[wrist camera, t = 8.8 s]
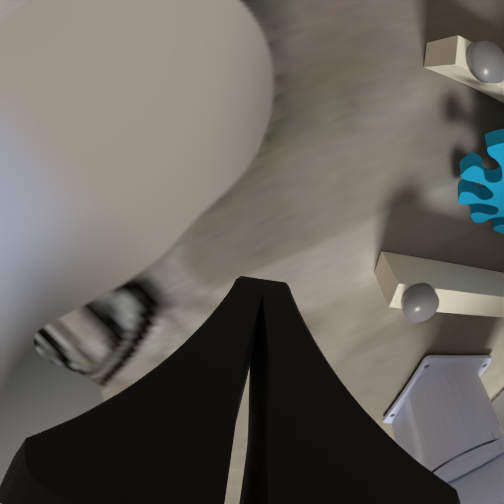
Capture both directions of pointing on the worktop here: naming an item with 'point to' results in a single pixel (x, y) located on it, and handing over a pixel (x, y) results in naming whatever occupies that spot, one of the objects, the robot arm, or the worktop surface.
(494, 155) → the gear
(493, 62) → the gear housing
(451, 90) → the worktop surface
